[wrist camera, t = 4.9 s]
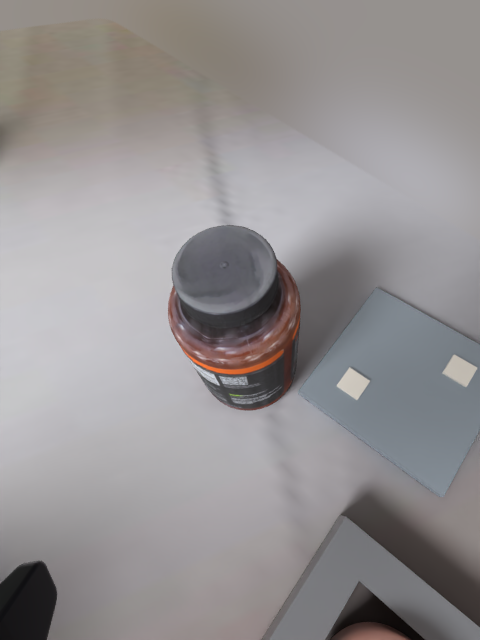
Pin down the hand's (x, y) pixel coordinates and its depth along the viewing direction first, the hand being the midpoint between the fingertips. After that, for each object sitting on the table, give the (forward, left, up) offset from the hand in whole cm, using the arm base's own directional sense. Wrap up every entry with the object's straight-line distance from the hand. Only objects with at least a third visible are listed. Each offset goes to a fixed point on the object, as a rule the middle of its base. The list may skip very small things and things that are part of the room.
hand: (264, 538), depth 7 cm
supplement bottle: (+6, -6, -14) cm, 16 cm away
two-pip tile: (-2, -11, -14) cm, 17 cm away
